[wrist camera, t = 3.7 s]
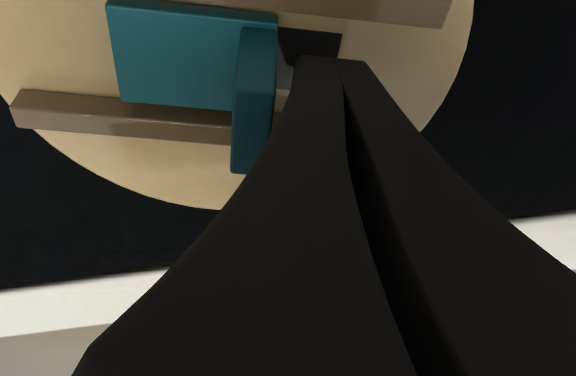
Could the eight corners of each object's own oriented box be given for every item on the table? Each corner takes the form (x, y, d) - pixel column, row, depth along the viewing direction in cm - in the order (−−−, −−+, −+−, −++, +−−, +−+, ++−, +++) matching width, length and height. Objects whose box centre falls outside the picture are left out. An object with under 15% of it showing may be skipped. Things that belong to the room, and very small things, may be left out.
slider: (279, 13, 9) (276, 87, 8) (268, 104, 11) (265, 181, 9) (108, -6, 9) (70, 66, 7) (124, 90, 11) (95, 168, 9)
